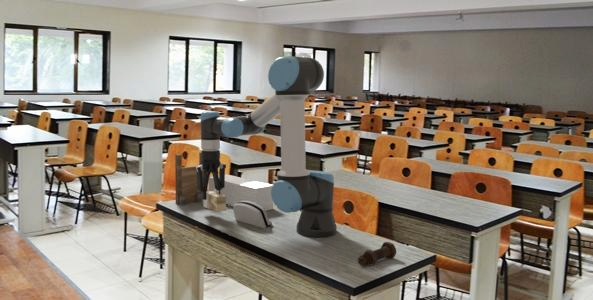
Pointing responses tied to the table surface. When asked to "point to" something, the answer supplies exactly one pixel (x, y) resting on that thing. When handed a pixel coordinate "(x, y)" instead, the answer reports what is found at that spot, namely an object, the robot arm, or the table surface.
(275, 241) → the table surface
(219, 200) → the tan wooden block
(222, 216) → the table surface
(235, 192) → the white ribbed block
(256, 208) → the white rounded block
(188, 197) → the wooden cleated plank
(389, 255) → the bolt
